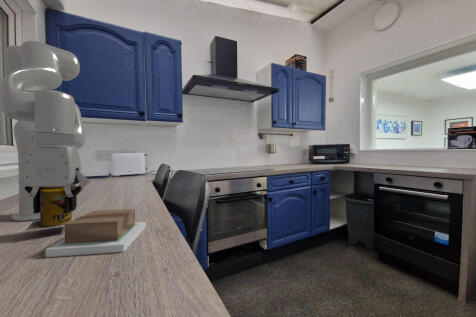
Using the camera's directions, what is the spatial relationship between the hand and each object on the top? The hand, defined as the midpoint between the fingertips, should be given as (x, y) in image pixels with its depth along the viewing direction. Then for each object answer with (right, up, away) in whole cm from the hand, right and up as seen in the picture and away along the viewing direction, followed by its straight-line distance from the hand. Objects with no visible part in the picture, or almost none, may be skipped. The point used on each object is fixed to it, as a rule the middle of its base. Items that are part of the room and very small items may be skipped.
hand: (55, 211), depth 50 cm
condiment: (-1, -4, 0) cm, 4 cm away
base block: (+16, -4, -4) cm, 17 cm away
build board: (+16, -5, -4) cm, 17 cm away
